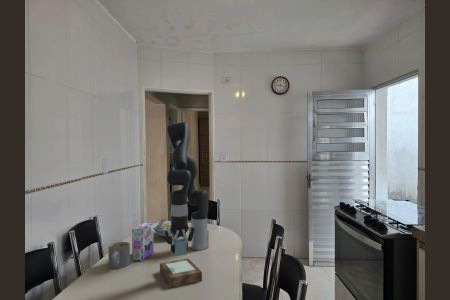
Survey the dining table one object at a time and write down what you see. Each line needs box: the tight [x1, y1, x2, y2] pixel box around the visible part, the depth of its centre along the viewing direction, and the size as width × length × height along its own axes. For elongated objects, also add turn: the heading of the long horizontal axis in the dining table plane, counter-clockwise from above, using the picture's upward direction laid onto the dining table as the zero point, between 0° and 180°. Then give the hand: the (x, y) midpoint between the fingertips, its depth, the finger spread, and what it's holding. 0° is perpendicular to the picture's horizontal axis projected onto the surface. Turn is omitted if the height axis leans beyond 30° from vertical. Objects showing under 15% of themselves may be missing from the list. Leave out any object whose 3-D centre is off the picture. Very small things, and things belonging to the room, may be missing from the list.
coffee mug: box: [108, 241, 131, 270], centre depth 150 cm, size 13×10×10 cm
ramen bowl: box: [153, 218, 173, 239], centre depth 201 cm, size 25×23×8 cm
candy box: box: [131, 222, 155, 262], centre depth 164 cm, size 14×6×16 cm, turn 168°
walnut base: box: [159, 258, 203, 288], centre depth 138 cm, size 14×18×4 cm
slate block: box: [172, 237, 188, 257], centre depth 138 cm, size 5×5×6 cm
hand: (179, 251), depth 138 cm, fingers closed on slate block, 5 cm apart
